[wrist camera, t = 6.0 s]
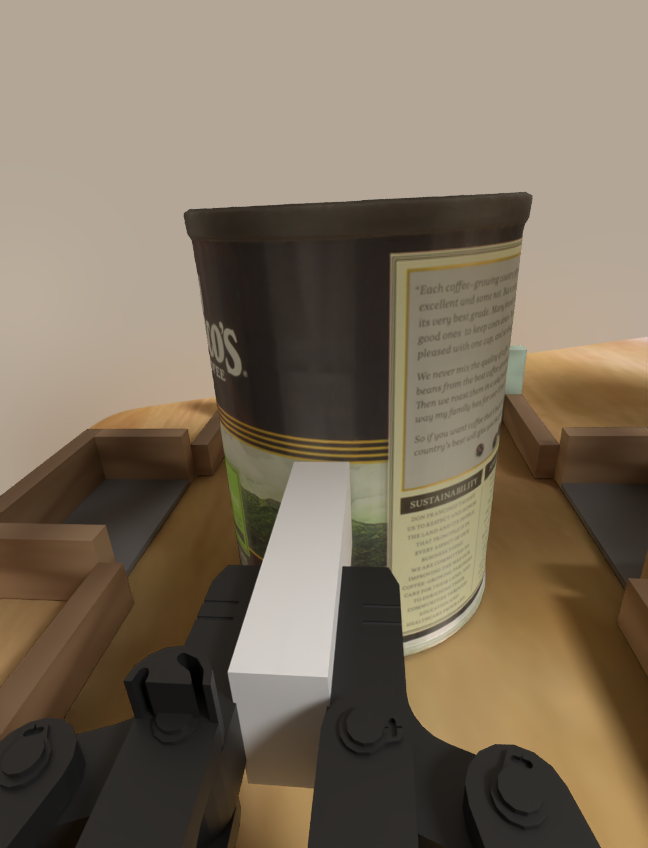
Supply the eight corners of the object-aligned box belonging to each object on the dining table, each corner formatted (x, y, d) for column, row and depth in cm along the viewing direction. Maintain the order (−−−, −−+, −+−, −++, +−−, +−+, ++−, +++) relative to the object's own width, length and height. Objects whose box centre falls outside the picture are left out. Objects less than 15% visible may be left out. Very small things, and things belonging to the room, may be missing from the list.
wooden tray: (605, 415, 33) (620, 343, 31) (1201, 971, 9) (1433, 814, 7) (158, 417, 37) (144, 354, 35) (-257, 818, 13) (-378, 688, 11)
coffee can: (232, 685, 16) (145, 207, 10) (246, 507, 25) (205, 209, 19) (539, 645, 16) (621, 181, 11) (440, 487, 26) (456, 195, 20)
